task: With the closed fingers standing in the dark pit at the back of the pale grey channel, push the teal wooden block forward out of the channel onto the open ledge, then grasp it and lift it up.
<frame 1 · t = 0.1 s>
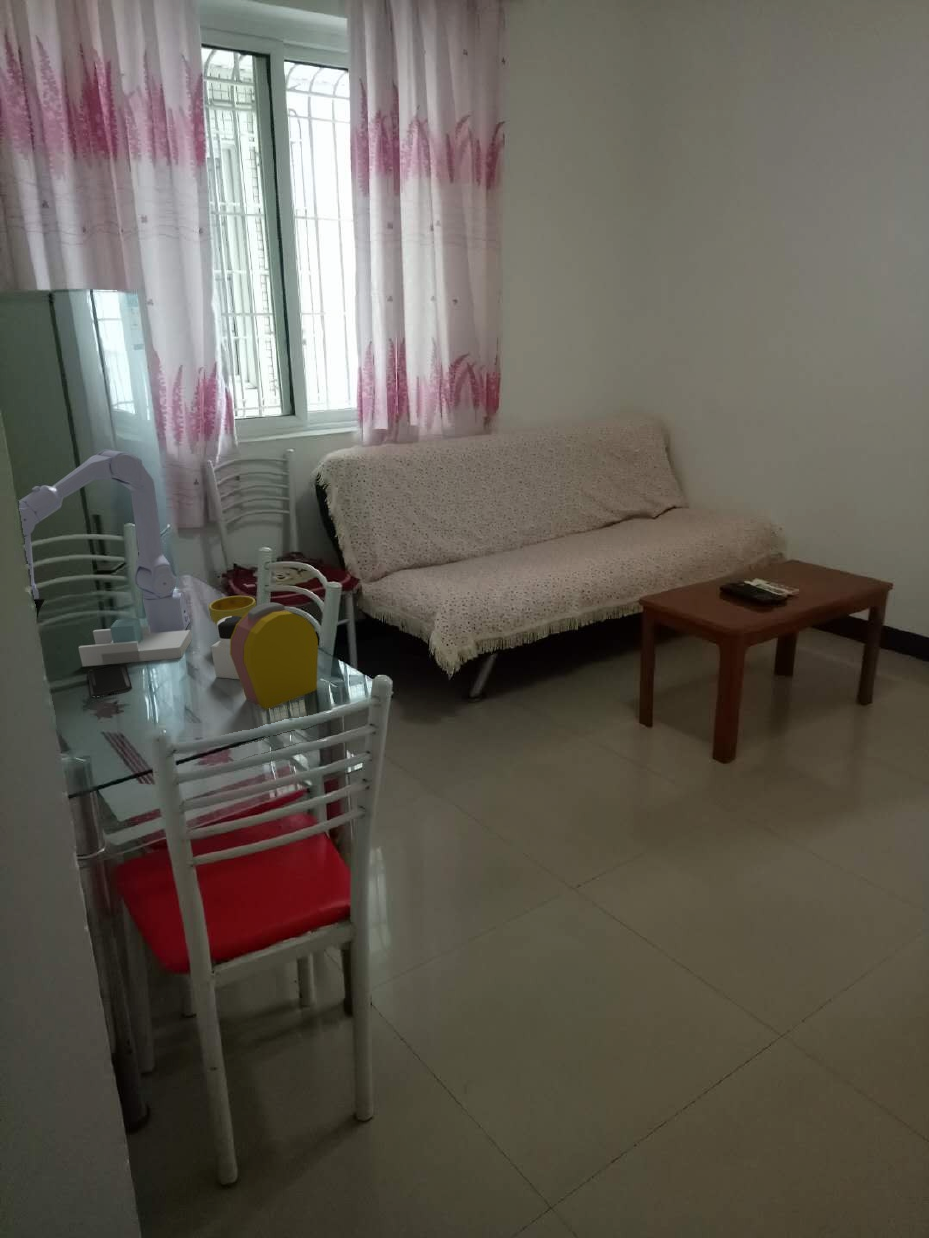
hand: (22, 626, 182), 10 cm above the table, tool pointing down, fingers open, 7 cm apart
medicine bottle: (239, 673, 178), on the table
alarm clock: (280, 694, 167), on the table
plant pot: (238, 643, 195), on the table
teal block: (129, 643, 191), point 2 cm above the table, touching grey channel
grey channel: (137, 652, 192), on the table
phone: (110, 684, 178), on the table
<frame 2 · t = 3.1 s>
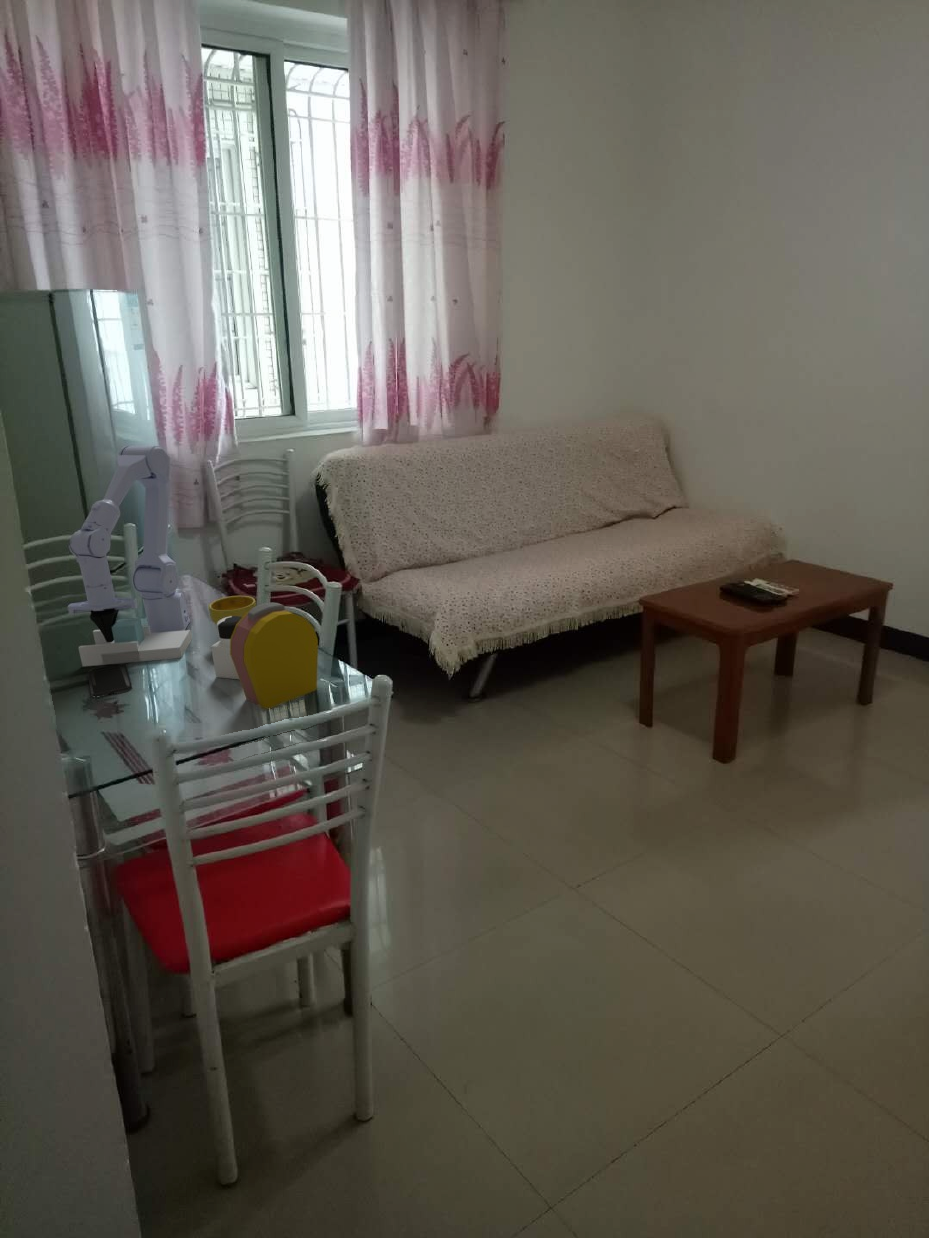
hand: (110, 640, 191), 4 cm above the table, tool pointing down, fingers closed
teal block: (130, 643, 191), point 3 cm above the table, touching grey channel, gripper
everything else where it was.
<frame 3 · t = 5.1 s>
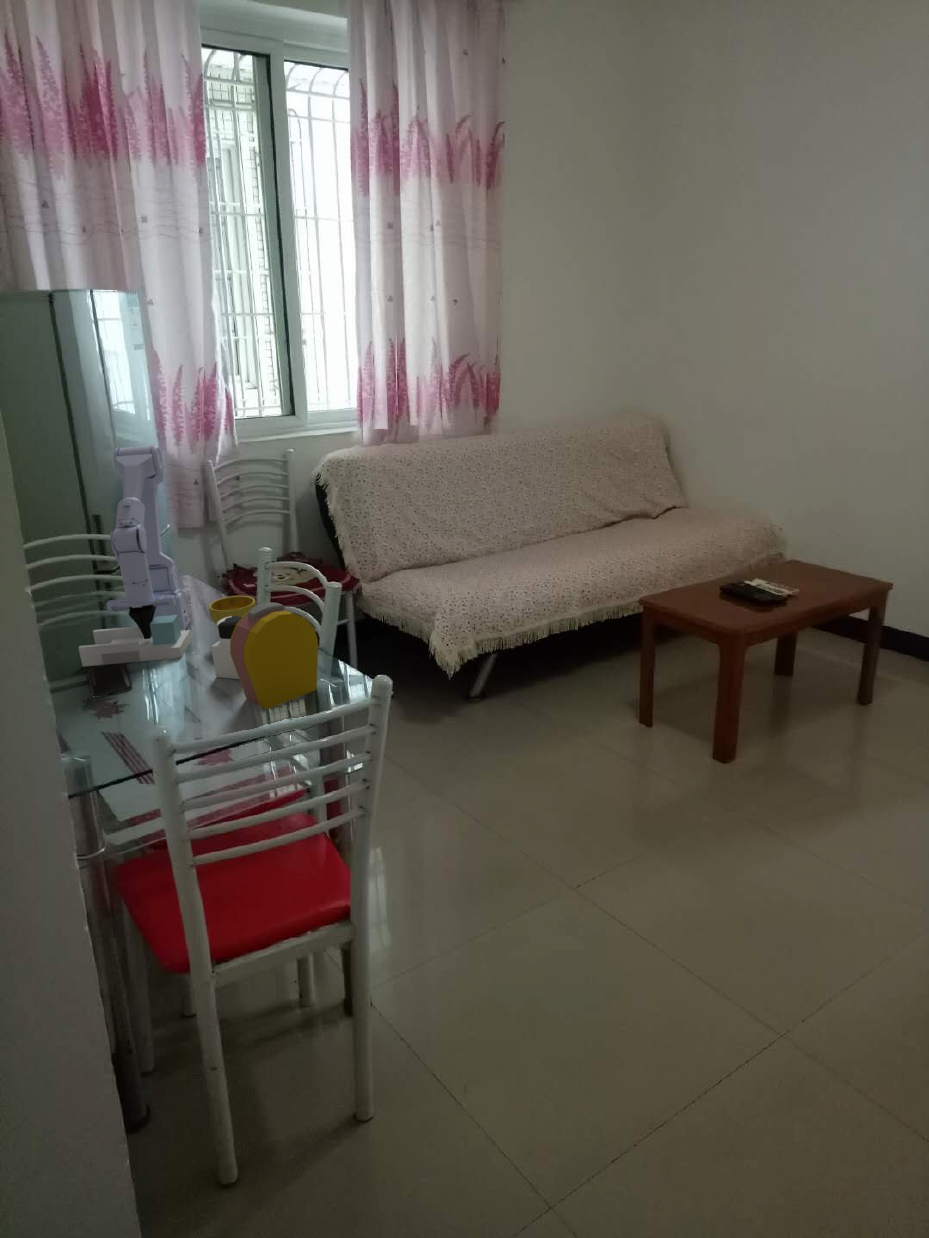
hand: (148, 637, 191), 4 cm above the table, tool pointing down, fingers closed
teal block: (167, 640, 192), point 3 cm above the table, touching grey channel, gripper
everything else where it was.
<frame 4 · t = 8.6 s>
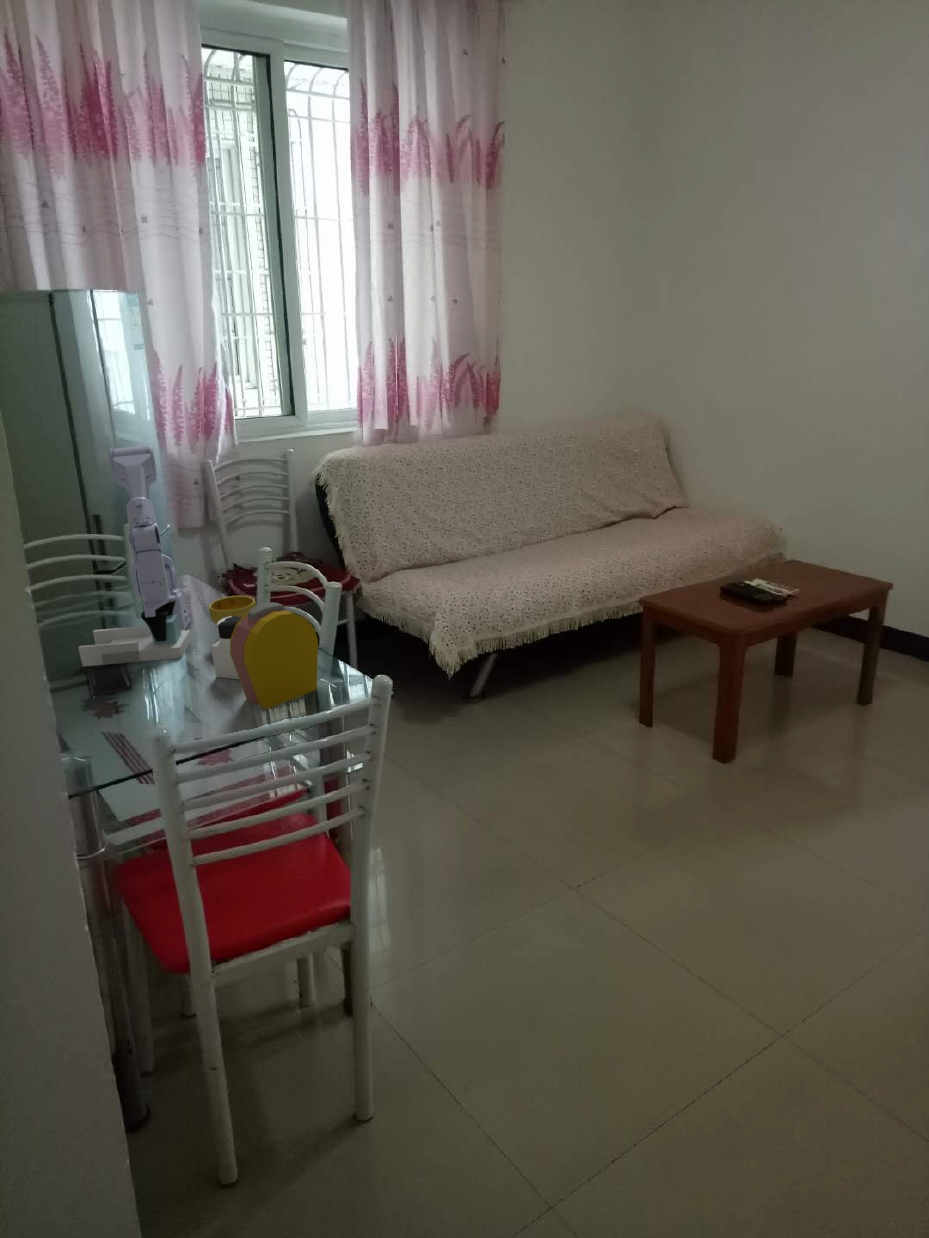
hand: (164, 636, 192), 3 cm above the table, tool pointing down, fingers closed on teal block, 5 cm apart
teal block: (167, 639, 192), point 3 cm above the table, touching grey channel, gripper
everything else where it was.
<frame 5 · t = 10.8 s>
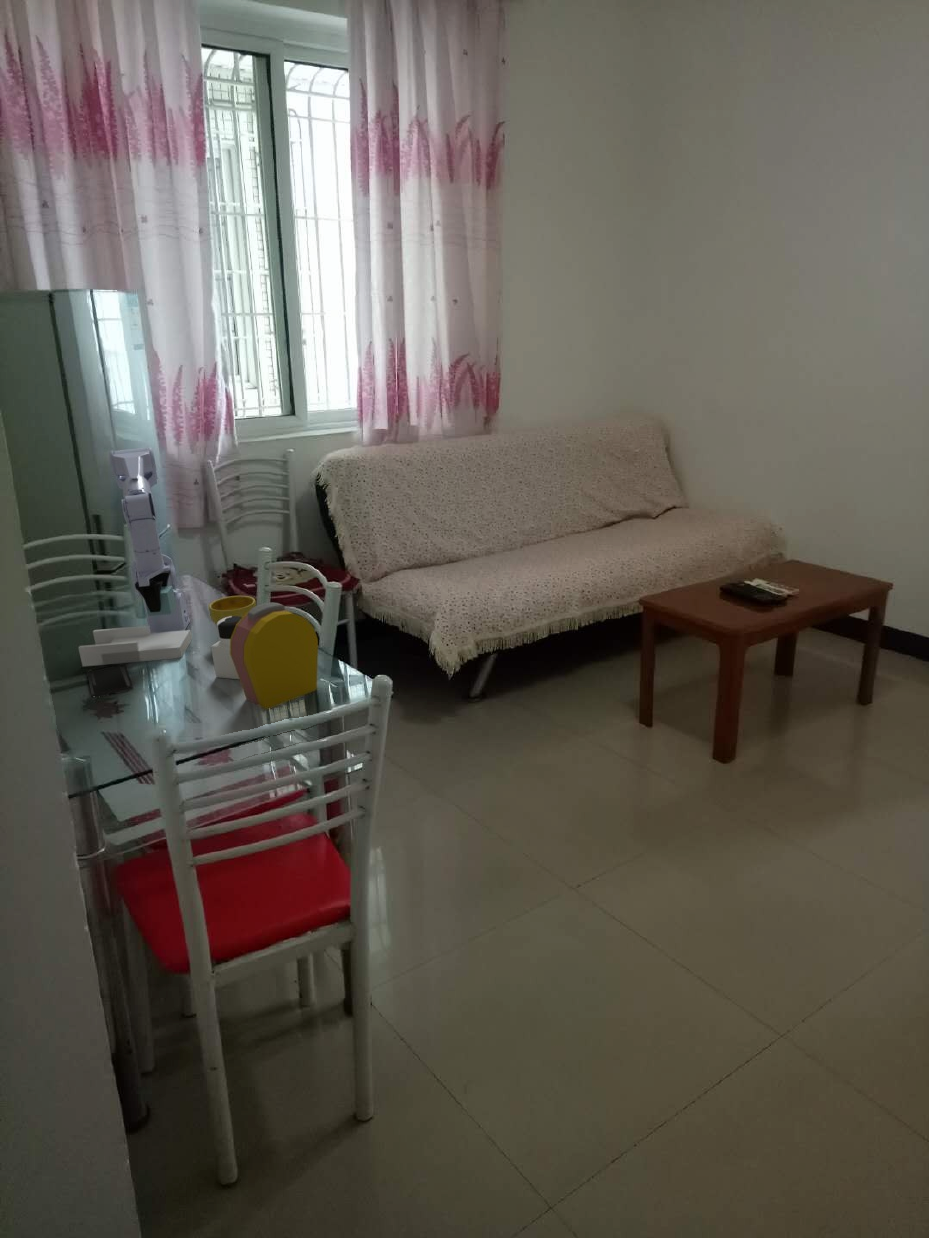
hand: (158, 607, 189), 10 cm above the table, tool pointing down, fingers closed on teal block, 5 cm apart
teal block: (162, 611, 190), point 9 cm above the table, touching gripper
everything else where it was.
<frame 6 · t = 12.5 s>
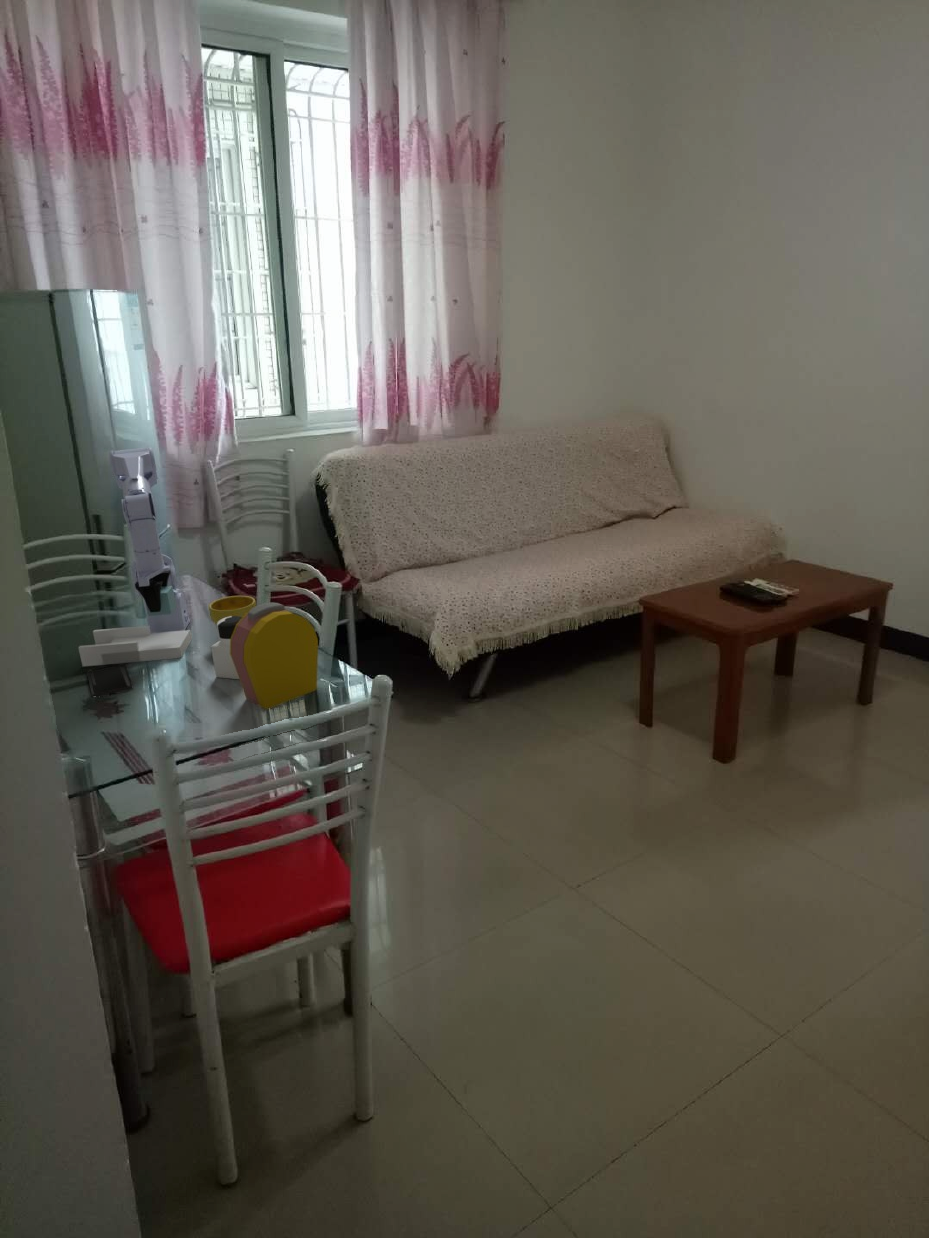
hand: (158, 607, 189), 10 cm above the table, tool pointing down, fingers closed on teal block, 5 cm apart
teal block: (162, 611, 190), point 9 cm above the table, touching gripper
everything else where it was.
at the end: the gripper is holding teal block; teal block inside the target area (0.2 cm from its centre), point 9.4 cm above the table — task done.
